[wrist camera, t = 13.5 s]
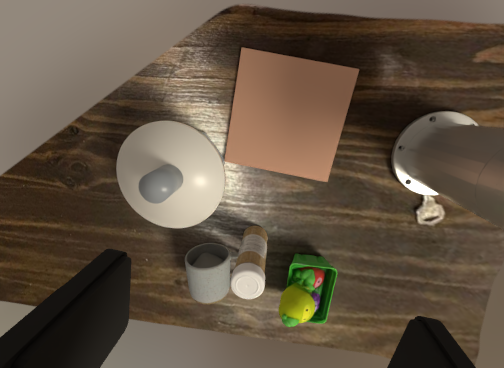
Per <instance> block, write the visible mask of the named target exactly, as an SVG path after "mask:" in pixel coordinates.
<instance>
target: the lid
mask: <svg viewBox="0 0 504 368" xmlns="http://www.w3.org/2000/svg"><path fill="white" fill-rule="evenodd" d="M116 170H117V179H118V183H119V186H120V189H121V191H122V193H123V195H124V197H125V199H126V200H127V202H128V203H129V204H130V206H131V207H132V208H133V209H134V210H135V211H136V212H137V213H138V214H140V215H141V216H142V217H144V218H145V219H147V220H149V221H150V222H152V223H155V224H157V225H160V226H164V227H169V228H186V227H190V226H193V225H196V224H198V223H200V222H202V221H204V220H205V219H206V218H208V217H209V216H210V215H211V214H212V213H213V212H214V211H215V209H216V208H217V206H218V205H219V203H220V201H221V199H222V196H223V194H224V189H225V181H226V179H225V170H224V165H223V162H222V159H221V157H220V155H219V153H218V151H217V149H216V148H215V146H214V145H213V144H212V143H211V141H210V140H209V139H208V138H207V137H206V136H205V135H204V134H202V133H201V132H200V131H198V130H197V129H195V128H193V127H191V126H189V125H186V124H184V123H180V122H176V121H157V122H151V123H148V124H145V125H143V126H141V127H139V128H137V129H136V130H134V131H133V132H132V133H131V134H130V135H129V136H128V137H127V138H126V140H125V141H124V143H123V144H122V146H121V148H120V151H119V153H118V158H117V166H116Z"/></svg>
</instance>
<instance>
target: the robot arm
mask: <svg viewBox="0 0 504 368" xmlns="http://www.w3.org/2000/svg"><path fill="white" fill-rule="evenodd" d="M430 118H431V120H430V121H429V119H430ZM399 146H400V148H399ZM398 148H399V149H398ZM391 165H392V169H393V172H394V174H395V176H396V178H397V179H398V181H399V182H400V183H401V184H402V185H403V186H405V187H406V188H408V189H409V190H411V191H413V192H416V193H418V194H423V195H442V196H443V197H445V198H447V199H449V200H451V201H453V202H454V203H456V204H458V205H460V206H462V207H463V208H465V209H467V210H469V211H471V212H472V213H474V214H476V215H478V216H480V217H481V218H483V219H485V220H487V221H489V222H491V223H492V224H494V225H496V226H498V227H500V228H502V229H504V128H494V127H484V126H479V125H478V124H477V123H476V122H475V121H474V120H473V119H472V118H470V117H468V116H466V115H465V114H461V113H458V112H451V111H438V112H433V113H429V114H426V115H424V116H421V117H419V118H418V119H416V120H414V121H413V122H412V123H410V124H409V125H408V126H407V127H406V128H405V129H404V130H403V131H402V132H401V133H400V135H399V137H398V138H397V140H396V142H395V144H394V147H393V150H392V155H391ZM406 180H407V181H406ZM405 181H406V182H405ZM130 279H131V258H129V257H127V253H126V252H123V251H118V250H114V249H106V250H105V251H104V252H102V253H101V254H100V255H99V256H98V257H97V258H95V259H94V260H93V261H92V262H91V263H89V264H88V265H87V266H86V267H85V268H84V269H82V270H81V271H80V272H79V273H78V274H76V275H75V276H74V277H73V278H72V279H71V280H69V281H68V282H67V283H66V284H65V285H63V286H62V287H60V288H59V289H57V290H56V291H55V292H54V293H53V294H51V295H50V296H49V297H48V298H47V299H45V300H44V301H43V302H42V303H41V304H40V305H38V306H37V307H36V308H35V309H34V310H32V311H31V312H30V313H29V314H28V315H26V316H25V317H24V318H23V319H22V320H20V321H19V322H18V323H17V324H16V325H15V326H13V327H12V328H11V329H10V330H9V331H8V332H6V333H5V334H4V335H3V336H1V337H0V368H100V367H101V365H102V364H103V362H104V361H105V359H106V358H107V356H108V355H109V353H110V352H111V350H112V349H113V347H114V346H115V345H116V343H117V342H118V340H119V339H120V337H121V335H122V334H123V333H124V331H125V329H126V327H127V324H128V320H129V302H130ZM387 368H476V367H475V366H474V365H473V363H472V362H471V361H470V359H469V358H468V357H467V355H466V354H465V353H464V351H463V350H462V349H461V348H460V346H459V345H458V344H457V342H456V341H455V340H454V338H453V337H452V336H451V334H450V333H449V332H448V330H447V329H446V328H445V326H444V325H443V324H442V323H441V322H440V321H439V320H436V319H432V318H427V317H422V316H417V317H415V319H414V320H410V322H409V323H408V325H407V327H406V330H405V332H404V334H403V336H402V338H401V340H400V342H399V344H398V346H397V348H396V351H395V353H394V355H393V357H392V359H391V361H390V363H389V365H388V367H387Z"/></svg>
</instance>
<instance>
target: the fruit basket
mask: <svg viewBox="0 0 504 368" xmlns="http://www.w3.org/2000/svg"><path fill="white" fill-rule="evenodd" d="M336 277H337V270H336V269H335V268H334V267H333V266H331V265H330V264H329V263H328V262H327V261H326V260H325V259H324V257H321V256H320V257H317V256H313V255H305V254H304V255H300V254H297V253H296V254H295V255H294V258H293V262H292V263H291V265H290V268H289V275H288V281H287V288H286V289H285V290H284V292H283V293H282V296H281V300H280V306H279V315H280V317H281V319H282V322H283V324H285V325H286V326H288V327H291V326H295V325H297V324H298V323H303V322H312V323H325V322H326V320H327V316H328V311H329V306H330V302H331V298H332V294H333V289H334V285H335V281H336Z"/></svg>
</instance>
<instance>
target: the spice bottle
mask: <svg viewBox="0 0 504 368" xmlns="http://www.w3.org/2000/svg"><path fill="white" fill-rule="evenodd" d="M267 240H268V236H267V233H266V231H265V230H264V229H263V228H261V227H259V226H250V227H248V228H247V229H246V230H245V231H244V233H243V240H242V242H241V245H240V249H239V253H238V257H237V261H236V266H235V269H234V270H233V273H232V276H231V282H230V285H231V288H232V290H233V292H234V293H235V294H236V295H237V296H239V297H241V298H244V299H253V298H256V297H258V296H259V295H261V293H262V292H263V290H264V287H265V274H264V271H265V260H266V252H267Z"/></svg>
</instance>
